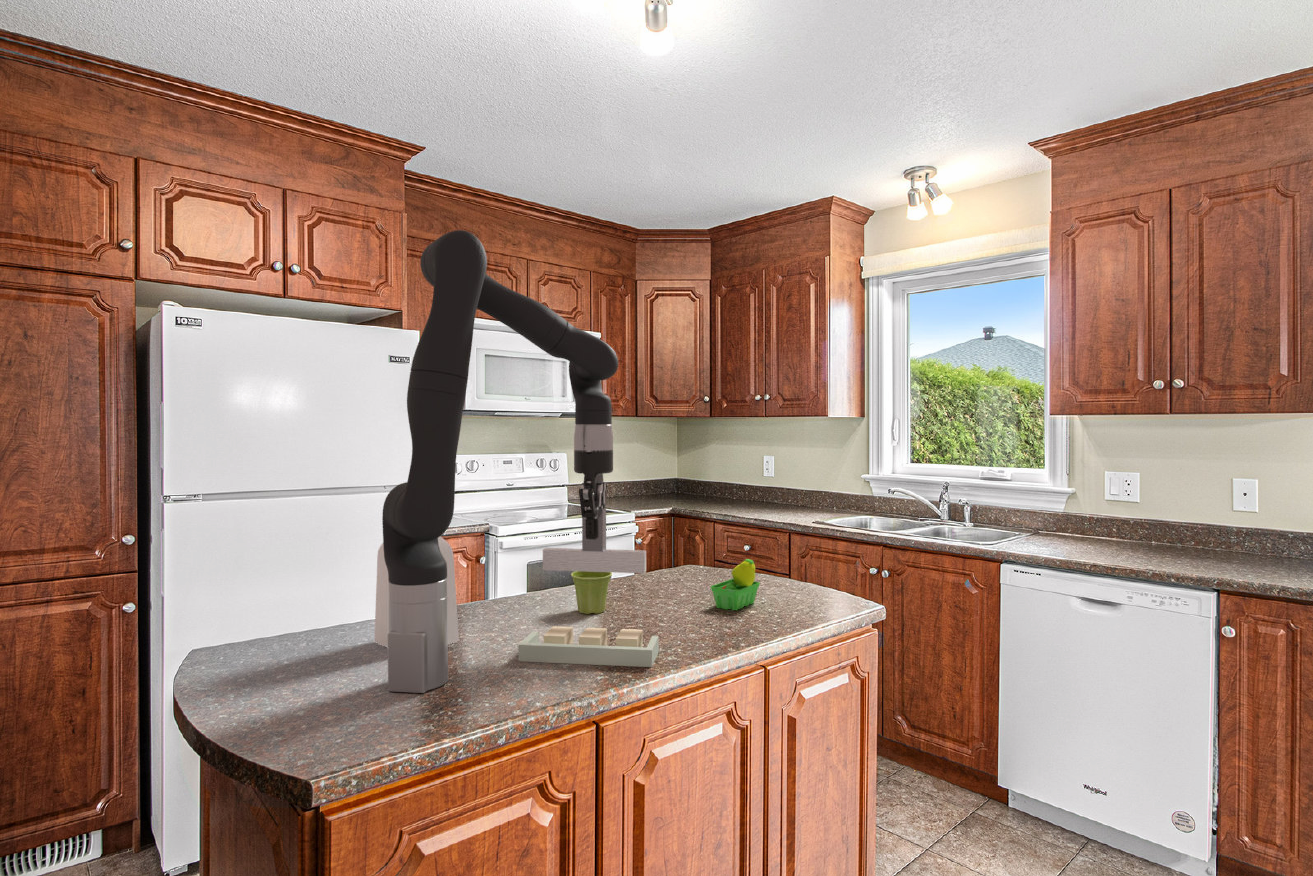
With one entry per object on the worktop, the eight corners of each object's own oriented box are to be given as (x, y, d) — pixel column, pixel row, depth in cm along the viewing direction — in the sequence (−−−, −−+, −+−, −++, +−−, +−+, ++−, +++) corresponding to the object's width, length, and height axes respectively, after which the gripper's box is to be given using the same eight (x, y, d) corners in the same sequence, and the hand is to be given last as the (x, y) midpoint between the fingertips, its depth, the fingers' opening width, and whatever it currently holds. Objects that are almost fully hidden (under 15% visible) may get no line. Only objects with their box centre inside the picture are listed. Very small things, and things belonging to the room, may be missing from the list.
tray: (652, 667, 125) (652, 650, 125) (518, 661, 129) (518, 644, 129) (658, 651, 134) (658, 636, 134) (533, 646, 137) (533, 631, 137)
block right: (637, 661, 129) (637, 639, 129) (615, 660, 130) (615, 638, 130) (642, 650, 135) (642, 629, 135) (621, 649, 136) (621, 628, 135)
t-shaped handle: (644, 573, 135) (644, 510, 134) (542, 570, 138) (541, 508, 137) (646, 570, 138) (646, 508, 137) (546, 567, 141) (546, 507, 140)
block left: (564, 658, 131) (564, 636, 131) (543, 657, 132) (543, 635, 131) (573, 647, 137) (572, 627, 137) (552, 647, 137) (552, 626, 137)
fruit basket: (733, 598, 175) (733, 552, 174) (765, 603, 169) (765, 556, 169) (708, 608, 165) (708, 560, 165) (742, 614, 160) (742, 564, 160)
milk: (459, 641, 141) (457, 510, 140) (404, 655, 132) (402, 516, 132) (427, 630, 149) (426, 505, 148) (374, 642, 140) (372, 510, 140)
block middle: (600, 659, 130) (599, 637, 130) (578, 658, 131) (578, 636, 131) (607, 649, 136) (607, 628, 136) (586, 648, 137) (586, 627, 136)
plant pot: (620, 609, 165) (620, 572, 164) (595, 619, 157) (595, 579, 156) (588, 604, 170) (588, 567, 169) (562, 613, 162) (562, 575, 161)
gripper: (583, 447, 145) (583, 531, 145) (564, 449, 131) (565, 543, 131) (619, 447, 144) (620, 532, 144) (604, 449, 130) (604, 544, 130)
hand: (593, 537), depth 137 cm, fingers closed on t-shaped handle, 3 cm apart
